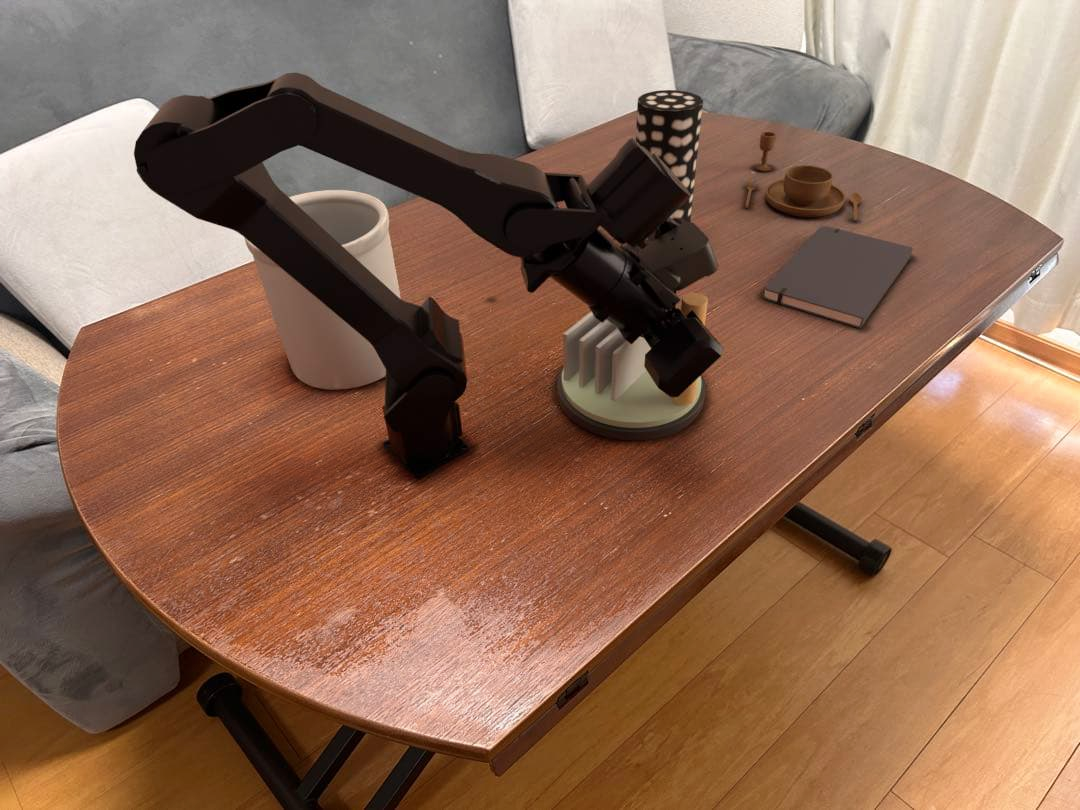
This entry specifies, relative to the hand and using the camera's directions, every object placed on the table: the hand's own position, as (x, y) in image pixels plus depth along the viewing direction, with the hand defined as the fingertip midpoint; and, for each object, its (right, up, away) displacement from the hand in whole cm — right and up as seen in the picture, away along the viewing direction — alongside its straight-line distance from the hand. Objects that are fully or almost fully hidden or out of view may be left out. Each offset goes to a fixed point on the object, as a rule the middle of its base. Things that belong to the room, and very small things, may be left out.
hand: (703, 355), depth 76 cm
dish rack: (-7, -2, +6) cm, 9 cm away
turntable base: (-7, -3, +7) cm, 10 cm away
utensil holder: (-39, +1, +14) cm, 42 cm away
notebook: (+23, +12, +25) cm, 36 cm away
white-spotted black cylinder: (+1, +19, +34) cm, 39 cm away
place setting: (+26, +29, +46) cm, 60 cm away
